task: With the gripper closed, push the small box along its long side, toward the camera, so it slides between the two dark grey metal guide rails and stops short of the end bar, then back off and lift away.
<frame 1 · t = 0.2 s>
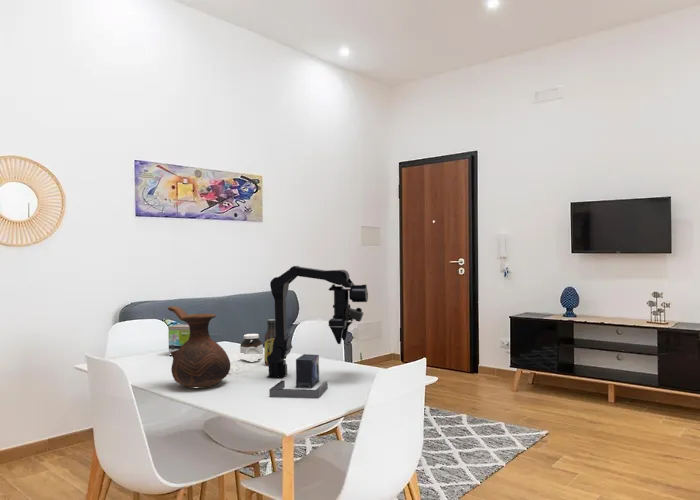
hand: (341, 342, 214), 14 cm above the table, fingers open, 9 cm apart
jug: (201, 385, 208), on the table
tea box: (187, 355, 272), on the table
sauce bottle: (271, 365, 243), on the table
guide rails: (299, 392, 194), on the table
small box: (308, 385, 205), on the table
spread jar: (252, 361, 253), on the table
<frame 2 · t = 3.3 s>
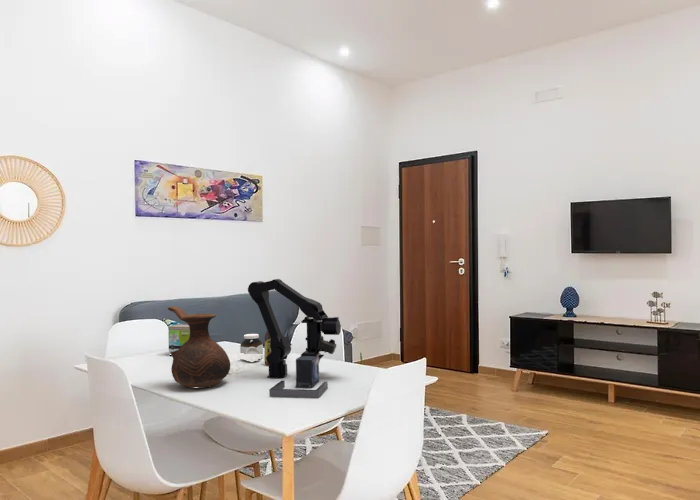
hand: (315, 374, 215), 2 cm above the table, fingers closed
small box: (308, 385, 205), on the table, touching gripper
everything else where it was.
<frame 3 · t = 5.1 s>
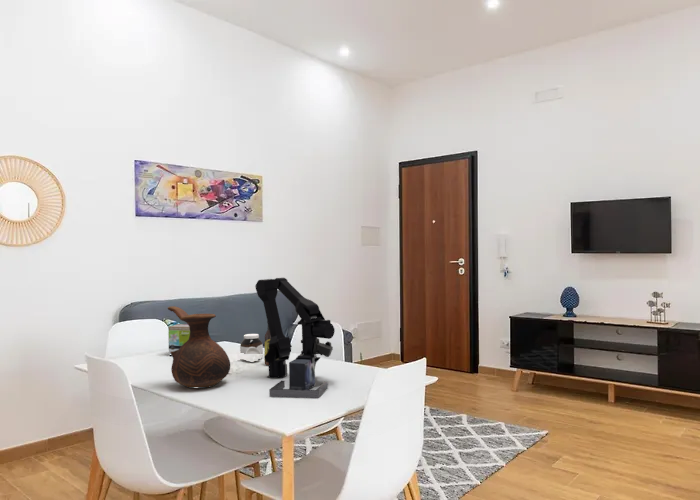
hand: (310, 377, 208), 2 cm above the table, fingers closed on small box
small box: (302, 389, 198), on the table, touching gripper
everything else where it was.
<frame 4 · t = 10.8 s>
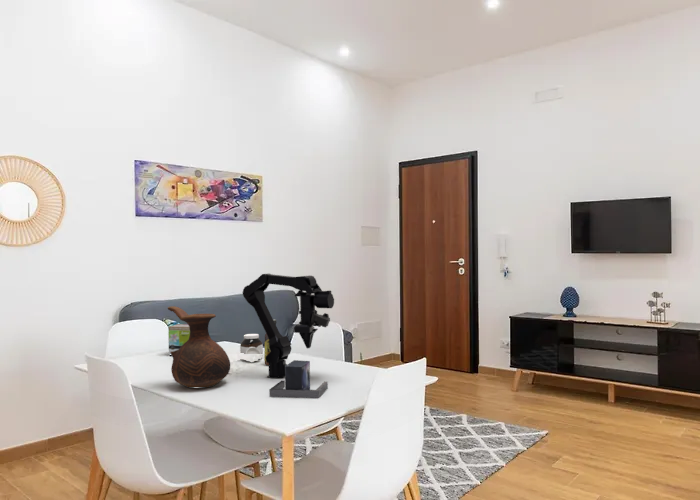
hand: (308, 348, 214), 12 cm above the table, fingers closed
small box: (298, 393, 193), on the table
everything else where it was.
at the end: small box 1.0 cm off-centre on the guide rails, point 0.0 cm above the guide rails's base; small box tilted 0°; the gripper is holding nothing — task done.
